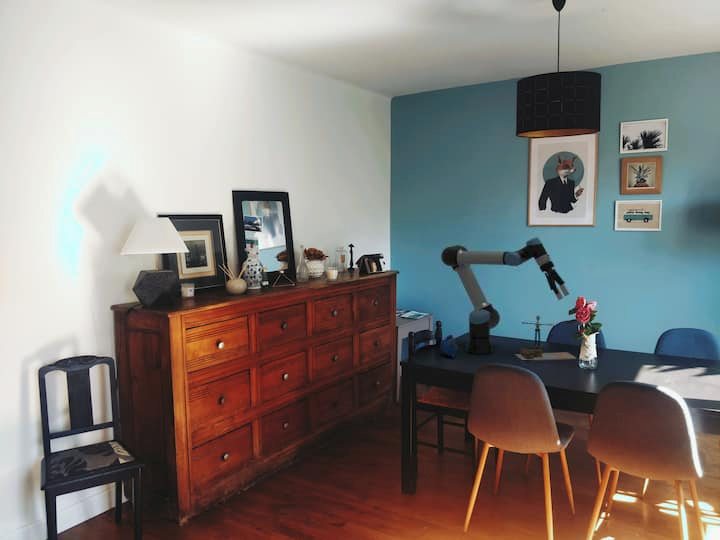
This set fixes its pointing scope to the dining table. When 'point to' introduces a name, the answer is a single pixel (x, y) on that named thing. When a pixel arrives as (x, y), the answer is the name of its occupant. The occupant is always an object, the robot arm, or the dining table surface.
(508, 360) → the dining table surface
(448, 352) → the toy
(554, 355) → the mat
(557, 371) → the dining table surface
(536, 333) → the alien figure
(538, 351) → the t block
